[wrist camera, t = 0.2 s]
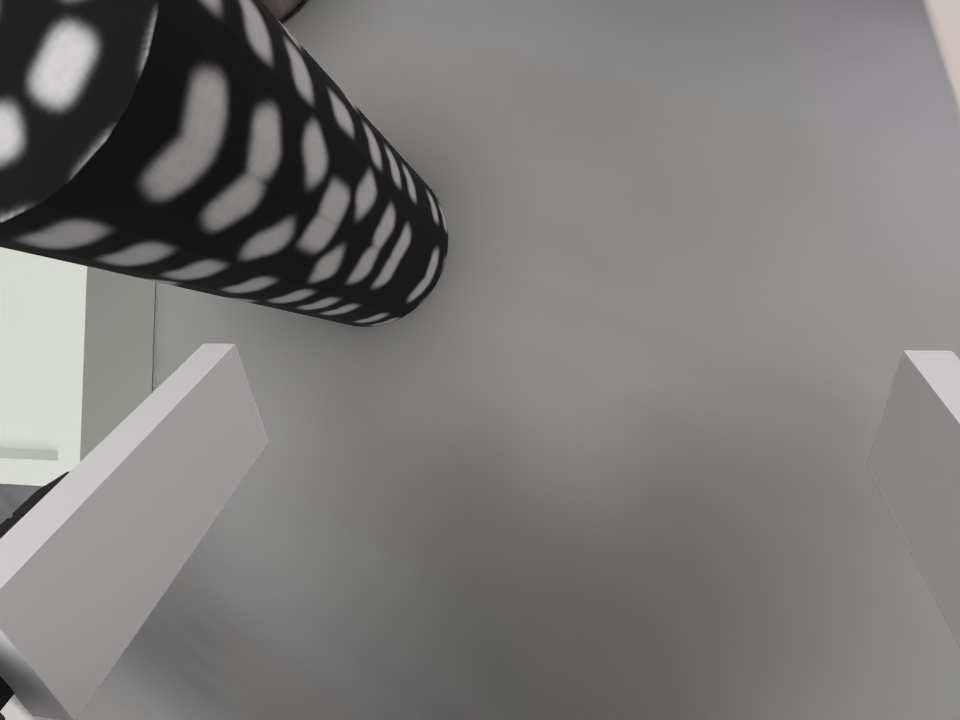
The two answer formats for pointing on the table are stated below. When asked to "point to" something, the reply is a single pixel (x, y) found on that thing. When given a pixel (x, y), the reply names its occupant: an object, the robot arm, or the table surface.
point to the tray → (67, 361)
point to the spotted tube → (205, 160)
